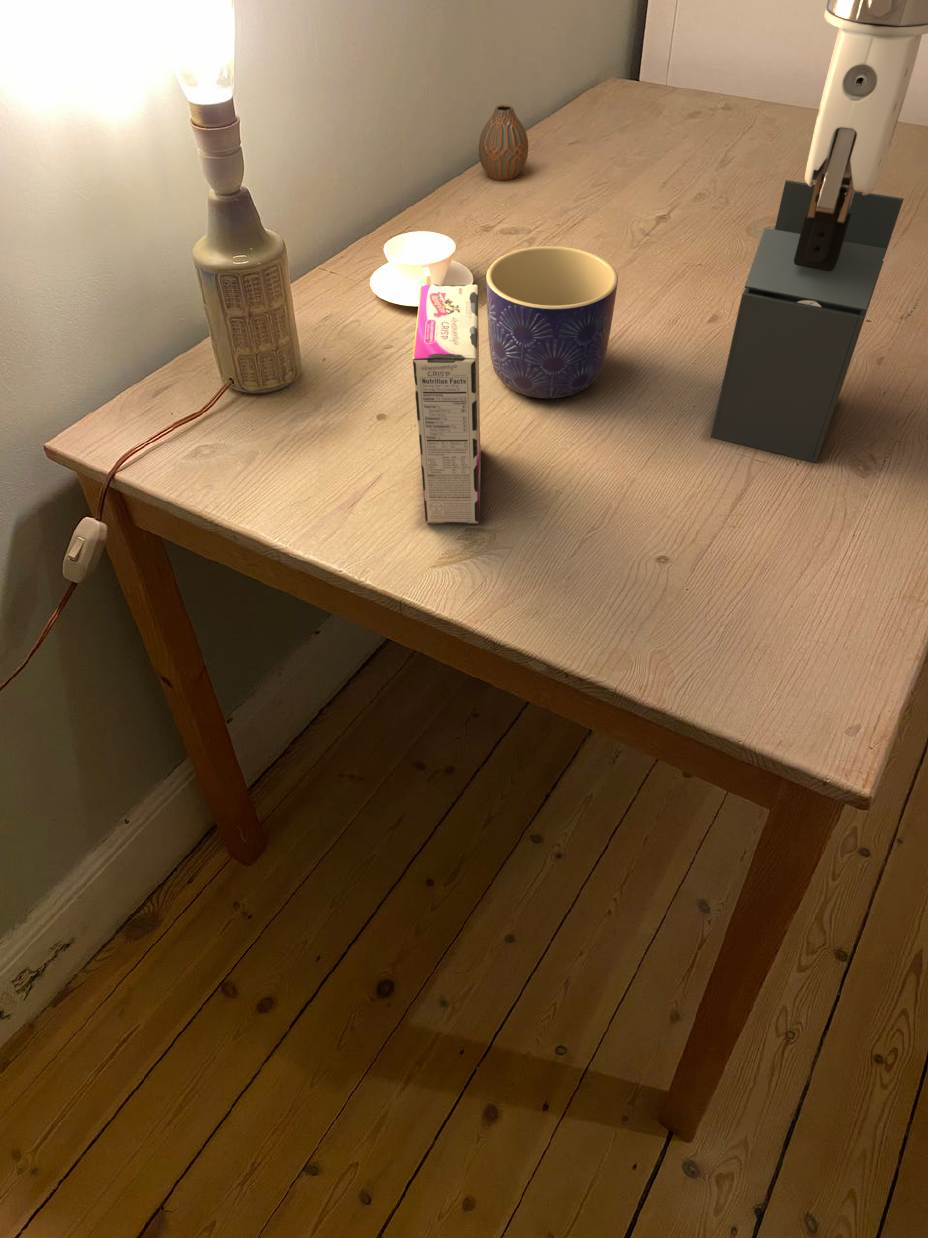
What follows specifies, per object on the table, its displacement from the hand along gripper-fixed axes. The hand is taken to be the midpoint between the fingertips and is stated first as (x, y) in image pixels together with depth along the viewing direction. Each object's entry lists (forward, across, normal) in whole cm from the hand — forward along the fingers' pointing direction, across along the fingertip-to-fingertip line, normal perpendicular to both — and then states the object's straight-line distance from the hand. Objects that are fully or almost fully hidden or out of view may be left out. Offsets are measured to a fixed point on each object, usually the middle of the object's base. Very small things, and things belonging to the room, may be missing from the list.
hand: (814, 263), depth 73 cm
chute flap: (+1, 0, 0) cm, 1 cm away
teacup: (+17, +13, +43) cm, 48 cm away
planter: (+17, +2, +23) cm, 29 cm away
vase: (+17, +48, +48) cm, 70 cm away
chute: (+17, +4, 0) cm, 17 cm away
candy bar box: (+17, -18, +24) cm, 35 cm away
